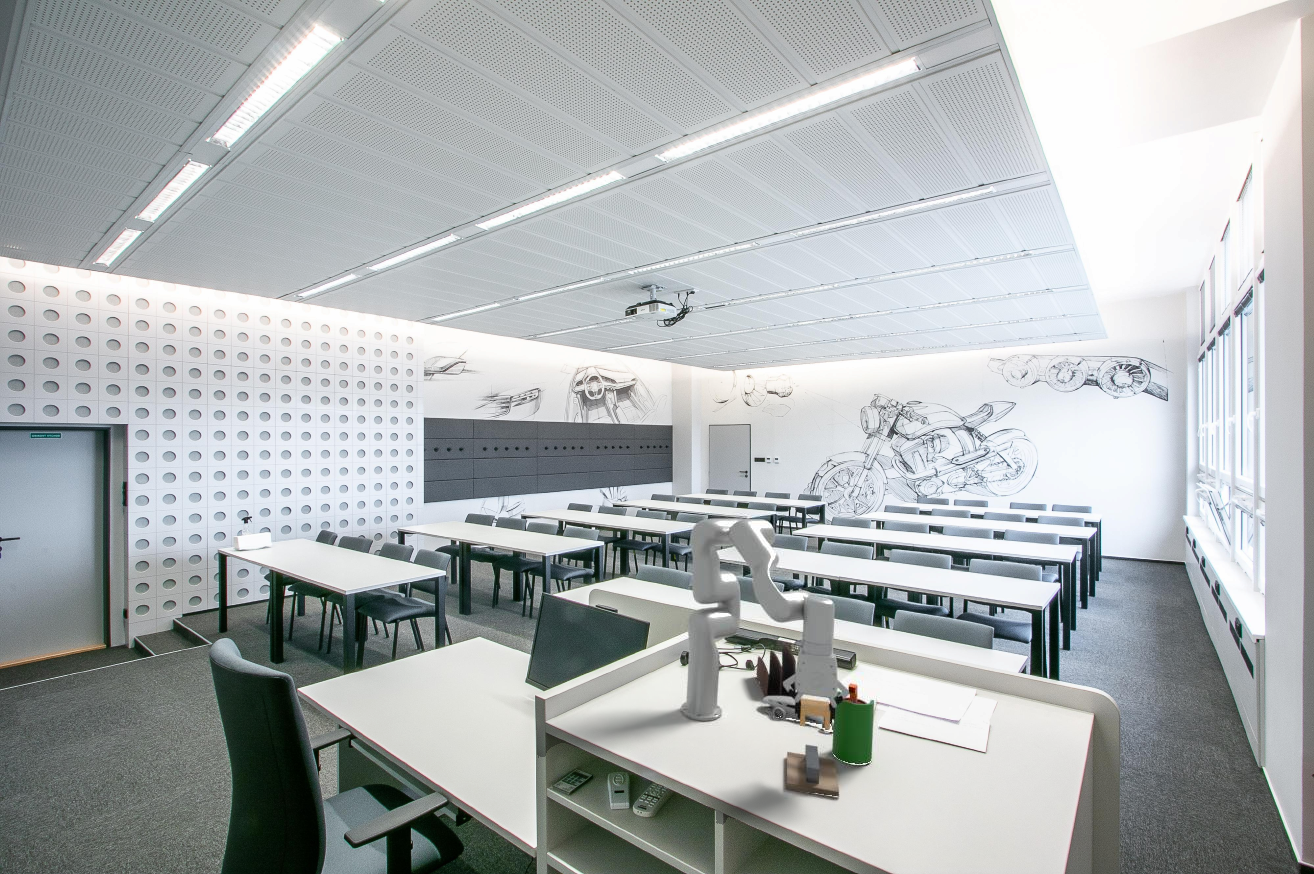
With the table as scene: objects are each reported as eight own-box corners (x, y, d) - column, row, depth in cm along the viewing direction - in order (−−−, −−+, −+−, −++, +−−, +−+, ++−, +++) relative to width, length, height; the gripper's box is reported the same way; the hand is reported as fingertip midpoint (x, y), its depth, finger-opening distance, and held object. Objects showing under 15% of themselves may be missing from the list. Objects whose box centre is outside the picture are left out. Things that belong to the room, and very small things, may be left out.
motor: (871, 754, 163) (874, 680, 164) (871, 769, 155) (875, 691, 155) (832, 746, 167) (836, 673, 167) (831, 760, 158) (834, 684, 159)
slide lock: (799, 715, 153) (800, 698, 154) (827, 719, 152) (828, 701, 152) (800, 725, 148) (800, 707, 148) (829, 730, 146) (830, 711, 146)
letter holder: (783, 678, 217) (785, 639, 218) (795, 700, 198) (797, 657, 198) (755, 677, 217) (757, 638, 218) (765, 699, 198) (767, 656, 198)
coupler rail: (804, 758, 156) (805, 744, 156) (816, 759, 155) (817, 746, 155) (806, 781, 144) (806, 767, 144) (818, 784, 143) (819, 769, 143)
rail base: (787, 757, 159) (787, 751, 159) (833, 764, 156) (834, 759, 156) (786, 789, 143) (786, 782, 143) (838, 798, 140) (839, 791, 140)
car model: (835, 736, 174) (836, 718, 174) (756, 713, 186) (757, 697, 186) (844, 722, 183) (845, 706, 183) (769, 702, 196) (769, 686, 196)
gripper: (782, 647, 149) (778, 720, 148) (855, 656, 145) (852, 730, 144) (782, 639, 156) (779, 708, 155) (852, 647, 152) (849, 718, 152)
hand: (814, 718), depth 150 cm, fingers closed on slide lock, 7 cm apart
